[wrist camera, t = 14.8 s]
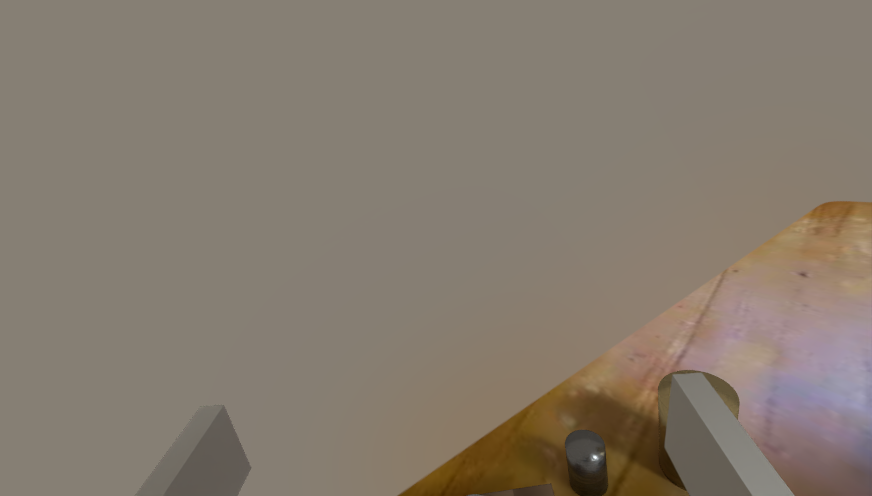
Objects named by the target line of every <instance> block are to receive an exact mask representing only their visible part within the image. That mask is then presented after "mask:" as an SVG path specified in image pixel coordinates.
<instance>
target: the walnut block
mask: <svg viewBox="0 0 872 496" xmlns="http://www.w3.org/2000/svg"><path fill="white" fill-rule="evenodd" d="M479 495H483V496H554V492H553V489H552V485H551V484H545V485H538V486H532V487H525V488H518V489H512V490H505V491H499V492H492V493H486V494H479Z"/></svg>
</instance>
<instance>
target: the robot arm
mask: <svg viewBox="0 0 872 496" xmlns="http://www.w3.org/2000/svg"><path fill="white" fill-rule="evenodd" d="M664 447H665V449H666V451H667V453H668V455H669V457H670V459H671V461H672V463H673V465H674V466H675V468H676V470H677V472H678V474H679V476H680V478H681V480H682V482H683V484H684V486H685V488H686V490H687V492H688V493H689V495H690V496H794V494H793V493H792V492H791V490H790V489H789V488H788V486H787V485H786V484H785V482H784V481H783V480H782V478H781V477H780V476H779V474H778V473H777V472H776V470H775V469H774V468H773V466H772V465H771V464H770V462H769V461H768V460H767V458H766V457H765V456H764V454H763V453H762V452H761V451H760V449H759V448H758V447H757V445H756V444H755V443H754V441H753V440H752V439H751V437H750V436H749V435H748V433H747V432H746V431H745V429H744V428H743V427H742V425H741V424H740V423H739V421H738V420H737V419H736V417H735V416H734V415H733V413H732V412H731V411H730V409H729V408H728V407H727V406H726V404H725V403H724V402H723V400H722V399H721V398H720V396H719V395H718V394H717V392H716V391H715V390H714V388H713V387H712V386H711V384H710V383H709V382H708V380H707V379H706V378H705V376H704V375H703V374H702V373H688V374H673V375H672V382H671V391H670V400H669V409H668V418H667V427H666V436H665V445H664ZM250 470H251V466H250V464H249V462H248V459H247V457H246V455H245V452H244V450H243V448H242V445H241V443H240V441H239V438H238V436H237V434H236V432H235V429H234V428H233V425H232V423H231V420H230V418H229V415H228V413H227V411H226V409H225V406H224V405H214V406H201V407H200V408H199V409H198V410H197V412H196V413H195V415H194V416H193V417H192V419H191V420H190V421H189V423H188V424H187V426H186V427H185V428H184V430H183V431H182V432H181V434H180V435H179V436H178V438H177V439H176V441H175V442H174V443H173V445H172V446H171V447H170V449H169V450H168V451H167V453H166V454H165V455H164V457H163V458H162V460H161V461H160V462H159V464H158V465H157V466H156V468H155V469H154V471H153V472H152V473H151V475H150V476H149V477H148V479H147V480H146V481H145V483H144V484H143V485H142V487H141V488H140V490H139V491H138V492H137V494H136V495H135V496H237V495H238V494H239V491H240V490H241V487H242V486H243V484H244V481H245V479H246V477H247V476H248V474H249V471H250Z"/></svg>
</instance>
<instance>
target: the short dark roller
mask: <svg viewBox="0 0 872 496" xmlns="http://www.w3.org/2000/svg"><path fill="white" fill-rule="evenodd" d="M565 448H566V455H567V463H568V470H569V478H570V484H571V487H572V488H573V490H574V491H575V492H576V493H577V494H579V495H580V496H602V495H604V494H605V492H606V491H607V488H608V477H607V465H606V452H605V444H604V441H603V440H602V438H601V437H600V436H599V435H597V434H596V433H594V432H592V431H589V430H577V431H574V432H572V433H571V434H569V435H568V437H567V438H566V441H565Z"/></svg>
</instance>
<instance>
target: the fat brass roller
mask: <svg viewBox="0 0 872 496" xmlns="http://www.w3.org/2000/svg"><path fill="white" fill-rule="evenodd" d="M688 373H702V374H703V375H704V376H705V378H706V379H707V380H708V382H709V383H710V384H711V386H712V387H713V388H714V390H715V391H716V392H717V394H718V395H719V396H720V398H721V399H722V400H723V402H724V403H725V404H726V406H727V407H728V408H729V409H730V411H731V412H732V413H733V415H734V416H735V417H736V419H737V420H738V413H739V397H738V395H737V393H736V391H735V390H734V389H733V388H732V387H731V386H730V385H729V384H728V383H727V382H725V381H724V380H722V379H720V378H718V377H716V376H714V375H711V374H709V373H705V372H701V371H694V370H683V371H677V372H673V373H670V374H668V375H667V376H665V377H664V378H663V379H662V380H661V381H660V383H659V387H658V409H659V463H660V467H661V469H662V471H663V472H664V474H665V475H666V476H667V478H668V479H669V480H670V481H672V482H673V483H674V484H675V485H677V486H678V487H680V488H682V489H684V490H686V488H685V486H684V484H683V482H682V480H681V478H680V476H679V474H678V472H677V470H676V468H675V466H674V465H673V463H672V461H671V459H670V457H669V455H668V453H667V451H666V449H665V447H664V445H665V436H666V427H667V418H668V409H669V400H670V391H671V382H672V375H673V374H688ZM686 491H687V490H686Z"/></svg>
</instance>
